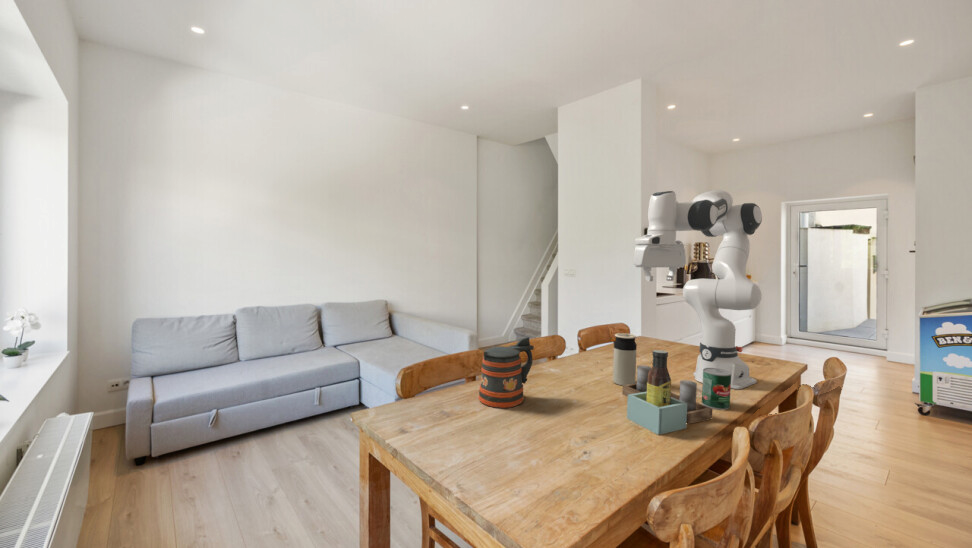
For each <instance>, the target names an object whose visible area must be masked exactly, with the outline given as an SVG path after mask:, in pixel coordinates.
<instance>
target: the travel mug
mask: <svg viewBox="0 0 972 548" xmlns="http://www.w3.org/2000/svg"><path fill="white" fill-rule="evenodd" d="M614 337H615V340H614V342H613V363H612V364H613V365H612V382H613V383H615V385H618V386H622V387H623V385H628V384H635V383H636V379H637V346H638V344H637V343H636V338H637V335H635V334H633V333H632V334H631V333H622V332H620V333H619V332H617V333H615V334H614Z"/></svg>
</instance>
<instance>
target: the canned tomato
mask: <svg viewBox="0 0 972 548" xmlns="http://www.w3.org/2000/svg"><path fill="white" fill-rule="evenodd" d="M731 389H732V388H731V372H729V371H727V370H723V369H718V368H704V369H703V383H702V387H701V404H702V405H704V406H707V407H709V408H712V410H713V409H714V410H719V411H721V410H723V411H726V410H729V409H730V408H731V407H730V405H731V391H732V390H731Z"/></svg>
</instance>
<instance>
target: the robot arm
mask: <svg viewBox="0 0 972 548" xmlns="http://www.w3.org/2000/svg"><path fill="white" fill-rule="evenodd" d="M733 202H734V201H733V197H732V195H731V194H730V193H729V192H727V191H726V190H725V191H724V190H718V189H716V190H709V191H704V192H701V193H700V194H698V195H696V196H695V197H694V198H693V199H692V200H691V201H688V202H687V201H685V202H679V201H678V200H677V193H676V192H675V191H673V190H669V191H668V190H667V191H660V192H654V193H653V194H651V195H650V198H649V202H648V208H647V209H648V210H647V220H648V227H647V233H646V234H644V235H641V236H639V237H636V238H635V242H634V244H635V245H636V246H635V248H634V253H633V264H634V266H635V267H636V268H642V271H643V273H644V275H645V281H646V282H653V281H654V276H653V275H652V274H651V271H652V268H668V272H669V273H668V275H666V281H668V282H674V280H675V275H676V274H677V271H678V268H684V267H685V266H686V263H687V262H686V261H687V258H686V257H687V256H686V250H685V249H686V248H685V244H684V243H683V242H682V241H681V240H677V232H684V231H685V232H688V231H689V232H691V231H696V232H697V231H699V232H701V233H702V234H703V235H704V236H705V237H710V238H714V237H715V238H716V237H720V236H723V238H722V241H720V244H719V246H718V247H717V250H716V252H715V255H714V259H713V261H712V264H711V270H712V272H713V274H714V275H715V276H716V278H703V277H702V278H695V279H689V280H688V281H686V283H685V284H684V285H683V288H682V296H683V299H684V301H685V303H687V304H688V305H689V306H691V308H693V310H694V311H695V312H696V314H697V317H698V319H699V321H700V330H701V331H700V332H701V335H700V336H701V337H700V338H701V340H700V343H699V347H698V348H699V353H700V354H698V356H697V361H696V366H695V371H693V374H692V375H693V376H694V379H695V380H696V381H697V382H700V383H702V384H703V369H704V368H718V369H723V370H727V371H729V372H731V388H730V389H734V390H742V389H745V388H748V387H749V386H752V385H754V384H757V383H758V381H757V379H756V378H753V377H752V376H750V367H749V365H748V364H747V363H746V362H744V360H742V359H741V358H740V357H739V354H738V353H742V352H743V350H744V349H743V347H742V346H737V345H736V329H737V328H736V326H735V324H734V323H733V322H732V321H731V320H729V319H727V318H725V317H724V316H723V315H722V314H721V313H720V311H719V309H721V310H731V311H748V310H749V311H751V310H754V309H756V308H758V306H759V304H760V303H761V300H762V292H761V289H760V287H759V286H758V285H757V284H756V283H755V282H753V281H751V279H749V278H748V277H747V275H746V269H747V264H748V259H749V255H750V246H751V243H750V239H749V237H748V236H752V235H753V234H755V233H756V230H758V229H759V227H760V225H761V224H762V221H763V213H762V210H761V208H760V207H759V205H758V204H756V203H755V202H754V203H753V202H745V203H742V204H735V205H734V204H733ZM735 345H736V346H735Z"/></svg>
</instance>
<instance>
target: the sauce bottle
mask: <svg viewBox="0 0 972 548" xmlns="http://www.w3.org/2000/svg"><path fill="white" fill-rule="evenodd" d="M668 357H669V352H668V351H667V350H661V349H653V350H652V366H651V369H650V370H649V372H648V382H647V398H646V402H648V403H651V404H653V405H655V406H657V407H663V406H668V405H670V395H671V393H672V392H671V391H672V388H671V387H672V379H671V375H670V372H669V368H668Z"/></svg>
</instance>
